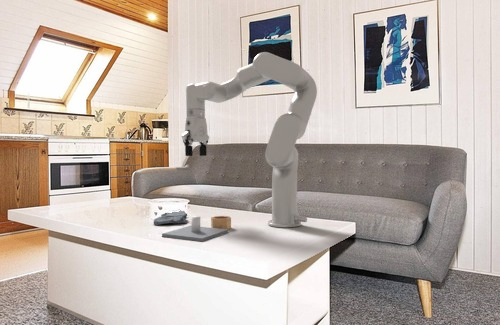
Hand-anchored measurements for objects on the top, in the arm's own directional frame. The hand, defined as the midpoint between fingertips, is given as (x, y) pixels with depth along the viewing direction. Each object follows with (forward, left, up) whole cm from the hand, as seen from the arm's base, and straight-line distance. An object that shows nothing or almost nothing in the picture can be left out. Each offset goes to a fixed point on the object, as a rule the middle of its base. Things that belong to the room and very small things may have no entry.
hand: (196, 155), depth 166 cm
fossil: (+5, +9, -27) cm, 29 cm away
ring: (-19, +12, -26) cm, 35 cm away
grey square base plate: (-17, +25, -26) cm, 40 cm away
